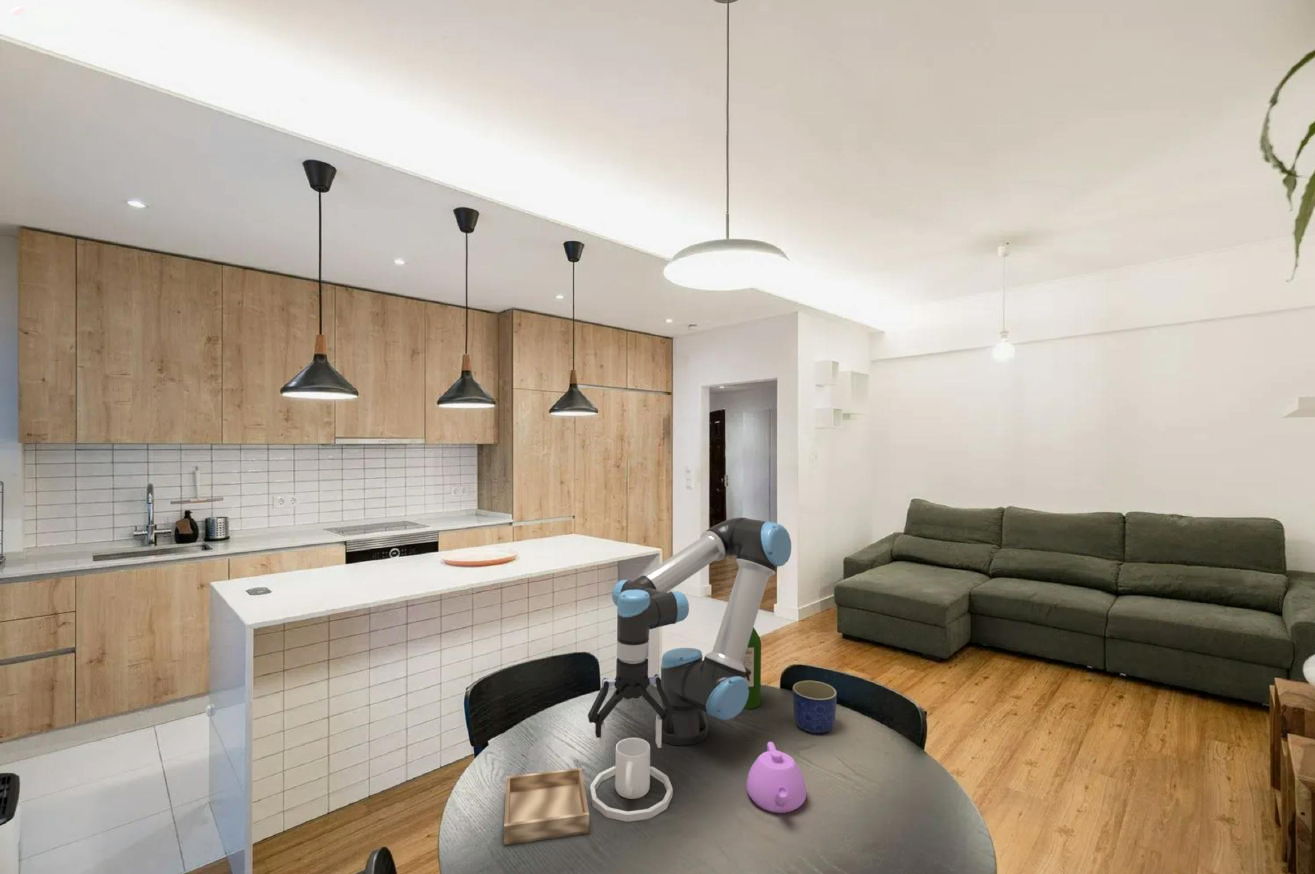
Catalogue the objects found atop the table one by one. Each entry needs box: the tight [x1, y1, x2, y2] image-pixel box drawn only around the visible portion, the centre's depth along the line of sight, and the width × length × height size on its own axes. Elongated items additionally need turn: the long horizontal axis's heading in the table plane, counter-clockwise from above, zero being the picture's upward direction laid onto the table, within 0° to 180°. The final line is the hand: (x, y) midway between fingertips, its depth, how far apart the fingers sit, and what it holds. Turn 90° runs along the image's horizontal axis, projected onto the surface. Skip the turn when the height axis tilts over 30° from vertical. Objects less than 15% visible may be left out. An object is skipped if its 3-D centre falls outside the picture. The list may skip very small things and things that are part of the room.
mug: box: [614, 737, 651, 800], centre depth 138 cm, size 12×8×10 cm
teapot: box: [746, 741, 807, 814], centre depth 136 cm, size 14×20×11 cm
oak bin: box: [503, 767, 590, 846], centre depth 131 cm, size 18×18×4 cm
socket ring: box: [589, 765, 674, 823], centre depth 138 cm, size 19×19×2 cm
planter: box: [792, 680, 838, 734], centre depth 170 cm, size 12×12×11 cm
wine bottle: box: [742, 627, 762, 710], centre depth 184 cm, size 9×9×32 cm
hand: (630, 747), depth 137 cm, fingers open, 13 cm apart
